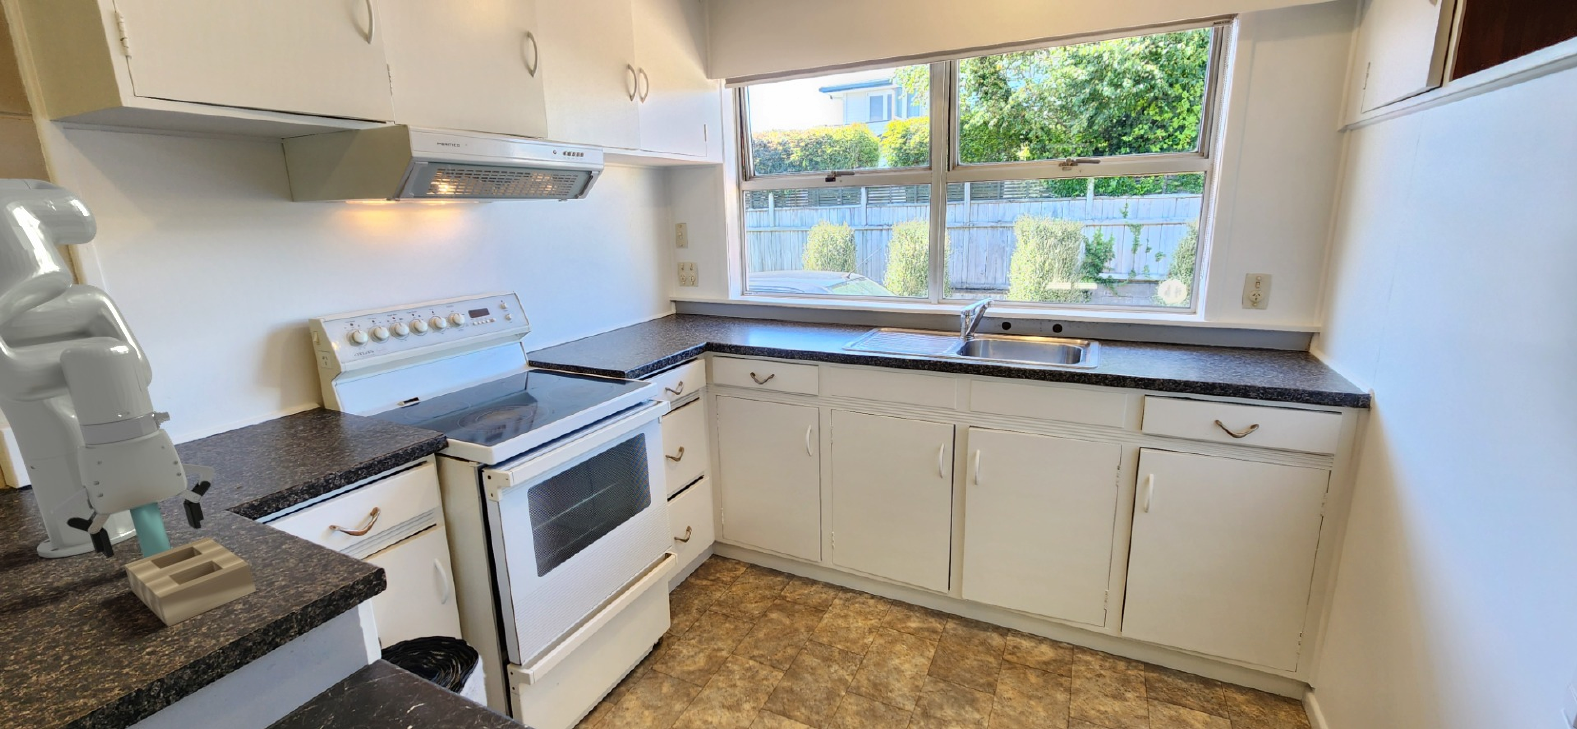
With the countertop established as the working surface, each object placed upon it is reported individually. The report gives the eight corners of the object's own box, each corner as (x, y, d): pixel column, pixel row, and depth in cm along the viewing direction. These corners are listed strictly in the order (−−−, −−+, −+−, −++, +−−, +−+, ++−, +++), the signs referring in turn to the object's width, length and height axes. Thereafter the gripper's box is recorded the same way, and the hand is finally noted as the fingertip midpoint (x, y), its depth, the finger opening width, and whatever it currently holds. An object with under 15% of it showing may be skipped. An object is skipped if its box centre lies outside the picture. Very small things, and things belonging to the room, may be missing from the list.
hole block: (132, 591, 90) (124, 565, 89) (215, 561, 97) (208, 536, 96) (168, 626, 81) (159, 597, 80) (256, 591, 88) (249, 564, 88)
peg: (144, 565, 97) (125, 503, 95) (170, 556, 100) (152, 495, 97) (150, 571, 96) (131, 507, 93) (176, 561, 98) (159, 499, 96)
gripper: (191, 409, 102) (218, 512, 106) (25, 444, 88) (63, 560, 92) (207, 415, 98) (235, 522, 102) (36, 453, 84) (75, 574, 88)
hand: (153, 540), depth 97 cm, fingers open, 9 cm apart
